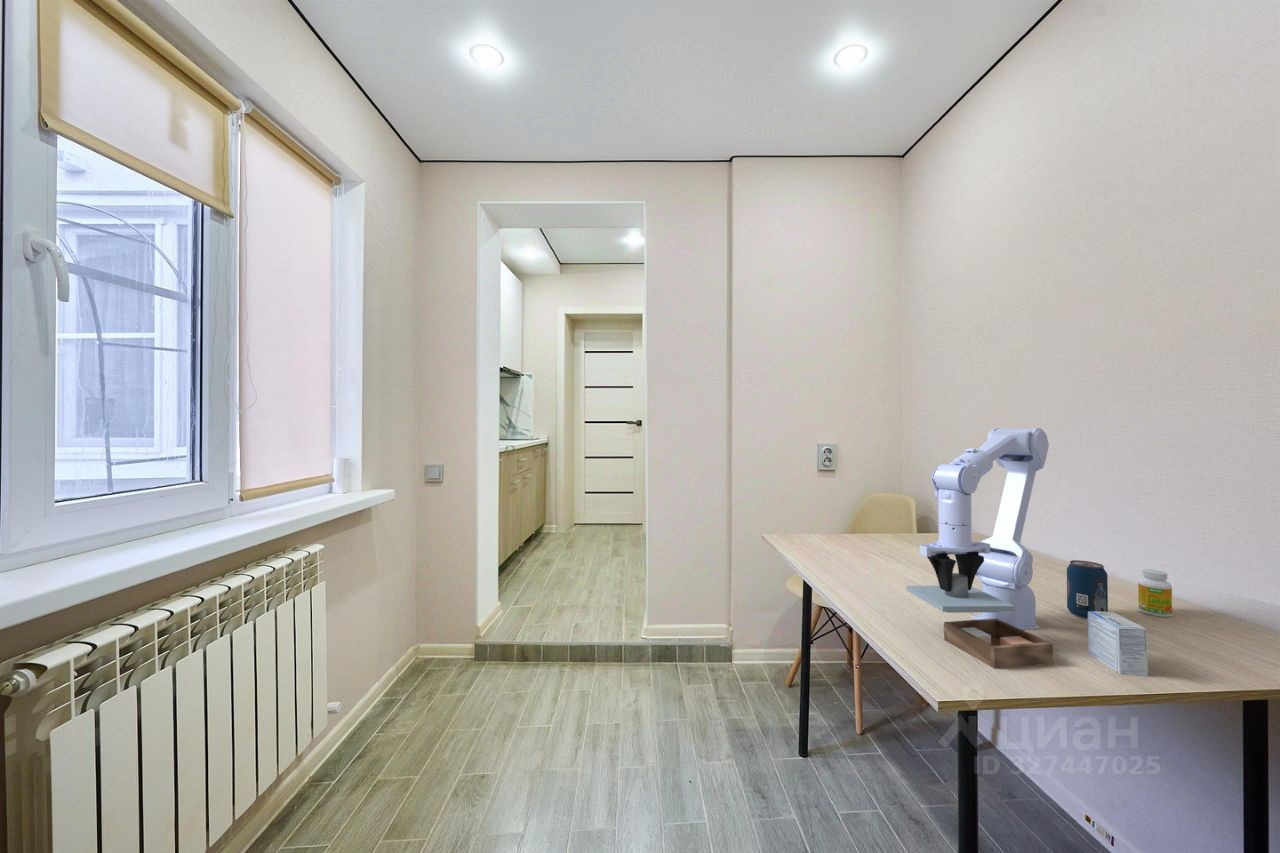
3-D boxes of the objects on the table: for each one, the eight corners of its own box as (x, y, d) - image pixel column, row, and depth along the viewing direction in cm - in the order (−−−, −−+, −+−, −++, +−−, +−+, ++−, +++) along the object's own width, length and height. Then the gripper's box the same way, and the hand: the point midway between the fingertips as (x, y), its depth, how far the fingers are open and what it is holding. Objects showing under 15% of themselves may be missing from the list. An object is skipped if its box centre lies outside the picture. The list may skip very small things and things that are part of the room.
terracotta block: (1018, 650, 95) (1018, 635, 95) (1038, 660, 91) (1037, 645, 91) (1000, 651, 94) (1000, 637, 94) (1019, 661, 90) (1018, 646, 90)
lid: (969, 593, 106) (968, 566, 107) (1015, 615, 93) (1013, 584, 93) (906, 594, 107) (905, 567, 107) (943, 616, 93) (942, 585, 93)
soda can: (1072, 608, 117) (1072, 557, 117) (1112, 617, 111) (1111, 564, 111) (1062, 614, 113) (1061, 562, 113) (1102, 624, 107) (1102, 569, 107)
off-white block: (974, 641, 99) (974, 627, 99) (991, 649, 95) (990, 635, 95) (956, 642, 98) (956, 628, 98) (972, 651, 94) (972, 636, 94)
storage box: (996, 637, 101) (996, 618, 101) (1053, 665, 89) (1052, 643, 89) (944, 641, 100) (943, 622, 100) (994, 670, 88) (994, 648, 88)
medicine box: (1149, 678, 84) (1148, 628, 85) (1118, 676, 85) (1118, 626, 85) (1114, 657, 92) (1114, 611, 92) (1087, 655, 93) (1086, 610, 93)
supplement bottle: (1146, 615, 112) (1146, 573, 112) (1133, 607, 117) (1133, 566, 117) (1178, 618, 110) (1177, 575, 110) (1163, 610, 115) (1162, 569, 115)
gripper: (970, 518, 105) (970, 581, 105) (909, 520, 103) (909, 585, 103) (998, 524, 98) (999, 592, 98) (934, 527, 96) (934, 596, 96)
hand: (955, 589), depth 100 cm, fingers closed on lid, 4 cm apart
